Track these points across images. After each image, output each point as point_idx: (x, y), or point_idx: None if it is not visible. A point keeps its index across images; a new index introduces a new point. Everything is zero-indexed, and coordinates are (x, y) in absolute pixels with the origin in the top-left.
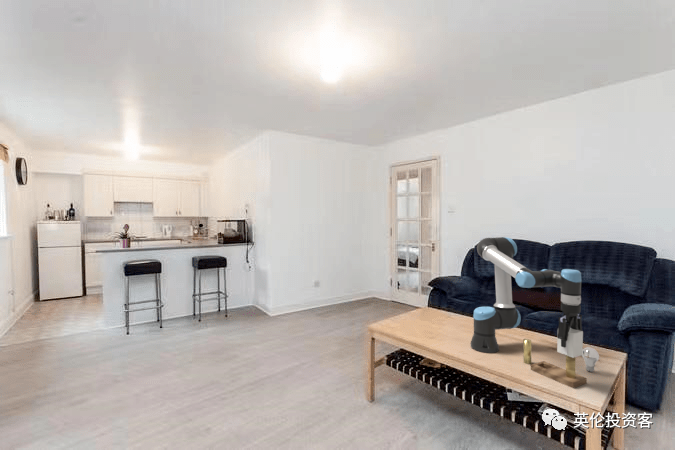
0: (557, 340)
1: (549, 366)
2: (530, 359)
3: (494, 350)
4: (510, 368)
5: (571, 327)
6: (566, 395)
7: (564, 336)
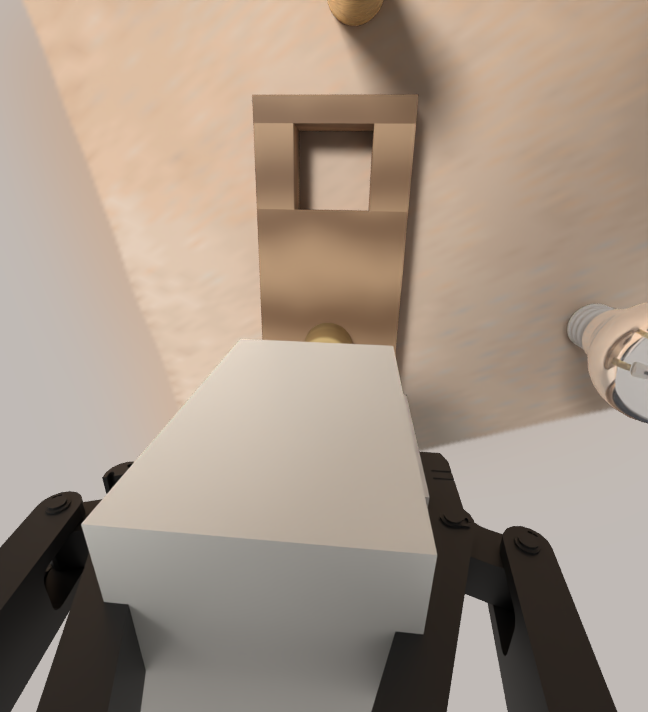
0: (193, 394)
1: (371, 180)
2: (352, 6)
3: None
4: (139, 6)
5: (388, 659)
6: (175, 396)
7: (67, 596)
